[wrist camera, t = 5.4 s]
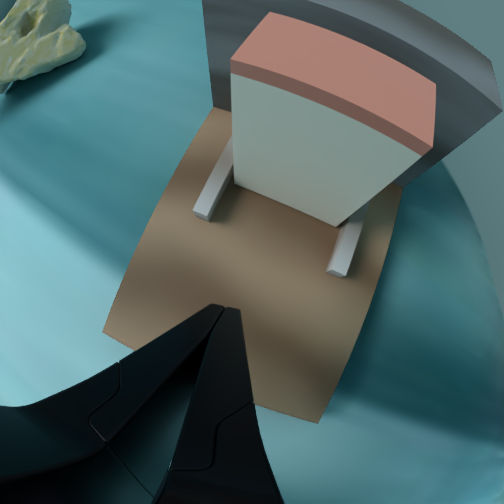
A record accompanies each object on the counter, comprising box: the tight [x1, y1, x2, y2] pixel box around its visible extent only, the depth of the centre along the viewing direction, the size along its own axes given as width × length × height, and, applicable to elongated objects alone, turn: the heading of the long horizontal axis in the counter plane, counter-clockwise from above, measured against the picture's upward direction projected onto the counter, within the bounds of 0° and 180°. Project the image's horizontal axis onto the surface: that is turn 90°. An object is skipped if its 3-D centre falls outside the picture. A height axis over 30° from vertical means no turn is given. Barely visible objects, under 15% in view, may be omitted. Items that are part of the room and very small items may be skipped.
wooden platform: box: [102, 0, 503, 424], centre depth 12 cm, size 19×13×11 cm
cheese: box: [0, 0, 86, 94], centre depth 16 cm, size 15×7×15 cm
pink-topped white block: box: [230, 12, 436, 227], centre depth 11 cm, size 3×6×9 cm, turn 67°
